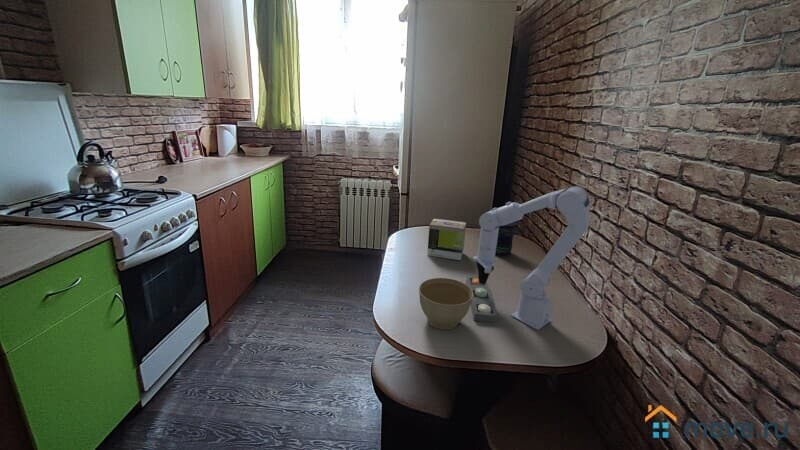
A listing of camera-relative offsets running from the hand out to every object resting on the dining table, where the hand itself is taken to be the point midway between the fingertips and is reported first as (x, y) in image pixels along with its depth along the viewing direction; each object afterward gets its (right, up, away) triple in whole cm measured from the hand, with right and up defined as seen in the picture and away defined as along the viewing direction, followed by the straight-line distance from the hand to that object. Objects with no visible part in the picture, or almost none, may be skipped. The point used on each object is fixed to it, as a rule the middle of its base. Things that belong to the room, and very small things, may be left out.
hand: (482, 282), depth 123 cm
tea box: (-8, +7, +37) cm, 39 cm away
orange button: (0, -3, +9) cm, 10 cm away
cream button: (-1, -8, -8) cm, 12 cm away
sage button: (-1, -5, 0) cm, 5 cm away
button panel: (-1, -6, +1) cm, 6 cm away
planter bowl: (-15, -10, -12) cm, 22 cm away
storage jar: (+18, +7, +43) cm, 47 cm away
